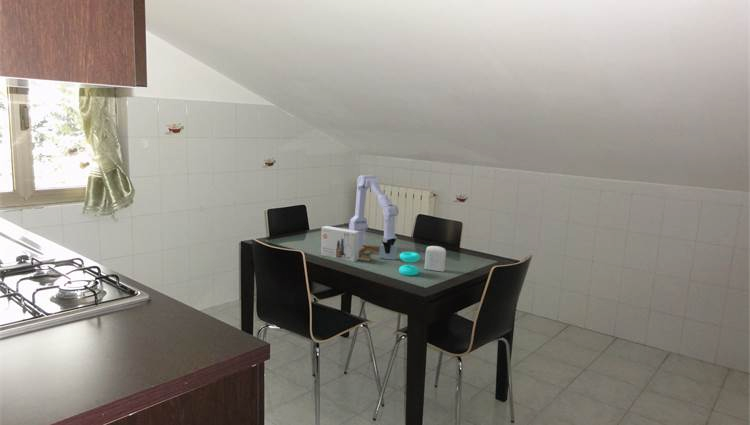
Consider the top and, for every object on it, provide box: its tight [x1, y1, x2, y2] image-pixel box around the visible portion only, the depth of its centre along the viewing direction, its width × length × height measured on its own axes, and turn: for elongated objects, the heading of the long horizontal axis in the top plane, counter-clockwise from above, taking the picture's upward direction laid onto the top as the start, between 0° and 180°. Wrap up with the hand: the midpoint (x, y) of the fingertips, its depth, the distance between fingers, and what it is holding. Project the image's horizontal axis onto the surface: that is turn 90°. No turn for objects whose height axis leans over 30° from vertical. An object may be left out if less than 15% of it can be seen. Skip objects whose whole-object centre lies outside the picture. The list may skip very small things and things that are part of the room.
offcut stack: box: [360, 251, 372, 261], centre depth 286 cm, size 2×5×4 cm, turn 70°
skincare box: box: [320, 225, 360, 262], centre depth 287 cm, size 21×5×16 cm, turn 62°
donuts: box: [398, 251, 421, 277], centre depth 264 cm, size 10×10×10 cm
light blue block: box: [378, 243, 398, 261], centre depth 290 cm, size 3×9×7 cm, turn 70°
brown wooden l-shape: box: [359, 244, 380, 257], centre depth 295 cm, size 12×14×4 cm
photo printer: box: [424, 245, 447, 273], centre depth 271 cm, size 10×4×12 cm, turn 72°
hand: (388, 252), depth 290 cm, fingers closed on light blue block, 3 cm apart
